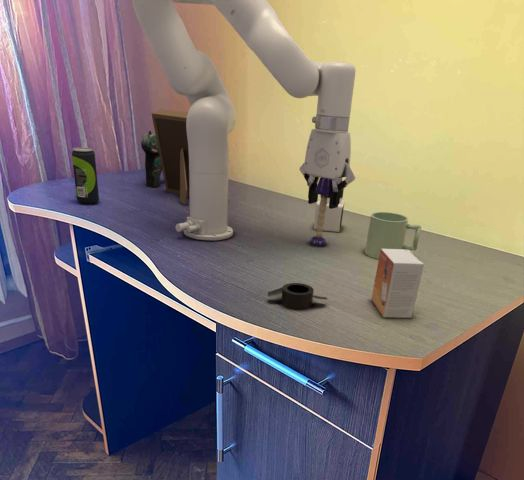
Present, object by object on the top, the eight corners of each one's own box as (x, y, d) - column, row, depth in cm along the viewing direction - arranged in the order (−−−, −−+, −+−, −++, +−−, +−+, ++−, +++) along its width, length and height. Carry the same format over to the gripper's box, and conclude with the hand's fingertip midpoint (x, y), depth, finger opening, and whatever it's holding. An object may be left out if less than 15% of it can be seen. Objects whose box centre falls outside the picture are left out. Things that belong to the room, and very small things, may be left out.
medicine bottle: (339, 232, 141) (345, 187, 135) (313, 229, 142) (318, 184, 136) (341, 226, 147) (347, 182, 141) (316, 223, 148) (321, 180, 142)
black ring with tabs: (285, 290, 102) (286, 276, 101) (329, 304, 97) (331, 290, 96) (263, 301, 97) (264, 287, 95) (308, 317, 92) (310, 302, 90)
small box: (370, 300, 100) (379, 247, 95) (398, 300, 101) (409, 248, 96) (382, 318, 93) (393, 262, 88) (412, 318, 94) (424, 263, 89)
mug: (365, 257, 123) (371, 219, 119) (364, 247, 131) (370, 210, 126) (416, 263, 122) (424, 224, 117) (413, 252, 129) (420, 215, 125)
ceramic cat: (152, 188, 174) (149, 124, 164) (138, 185, 177) (135, 122, 167) (190, 181, 189) (190, 121, 179) (177, 178, 192) (176, 119, 182)
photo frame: (174, 189, 175) (172, 108, 163) (226, 200, 166) (228, 115, 154) (144, 196, 164) (139, 110, 152) (197, 208, 154) (197, 117, 142)
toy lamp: (330, 243, 131) (338, 175, 123) (324, 248, 127) (332, 178, 119) (312, 240, 133) (319, 173, 125) (306, 245, 129) (313, 176, 121)
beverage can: (102, 204, 153) (97, 150, 145) (81, 205, 149) (75, 151, 142) (95, 199, 157) (90, 147, 150) (74, 201, 154) (68, 147, 146)
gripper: (291, 120, 119) (285, 200, 127) (356, 129, 109) (344, 215, 118) (310, 119, 124) (303, 196, 133) (373, 128, 115) (361, 210, 123)
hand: (322, 204), depth 125 cm, fingers open, 5 cm apart
